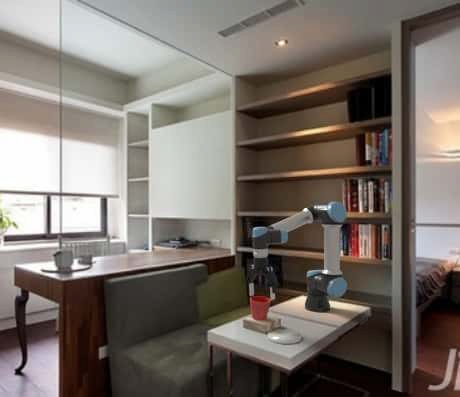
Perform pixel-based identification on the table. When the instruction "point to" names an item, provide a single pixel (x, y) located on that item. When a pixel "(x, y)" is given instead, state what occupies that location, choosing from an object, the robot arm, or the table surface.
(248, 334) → the table surface
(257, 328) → the stand
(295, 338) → the pale grey round plate
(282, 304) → the table surface
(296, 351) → the table surface
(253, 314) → the flower pot
